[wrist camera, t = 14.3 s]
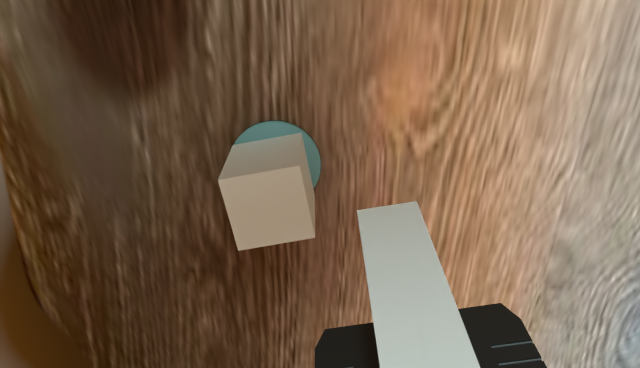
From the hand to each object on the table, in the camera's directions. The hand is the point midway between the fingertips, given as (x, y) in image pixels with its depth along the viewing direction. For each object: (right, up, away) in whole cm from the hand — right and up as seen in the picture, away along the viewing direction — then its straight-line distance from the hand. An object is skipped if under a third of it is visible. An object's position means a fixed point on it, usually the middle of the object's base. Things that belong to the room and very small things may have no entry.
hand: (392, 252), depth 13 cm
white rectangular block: (-5, +3, +26) cm, 27 cm away
